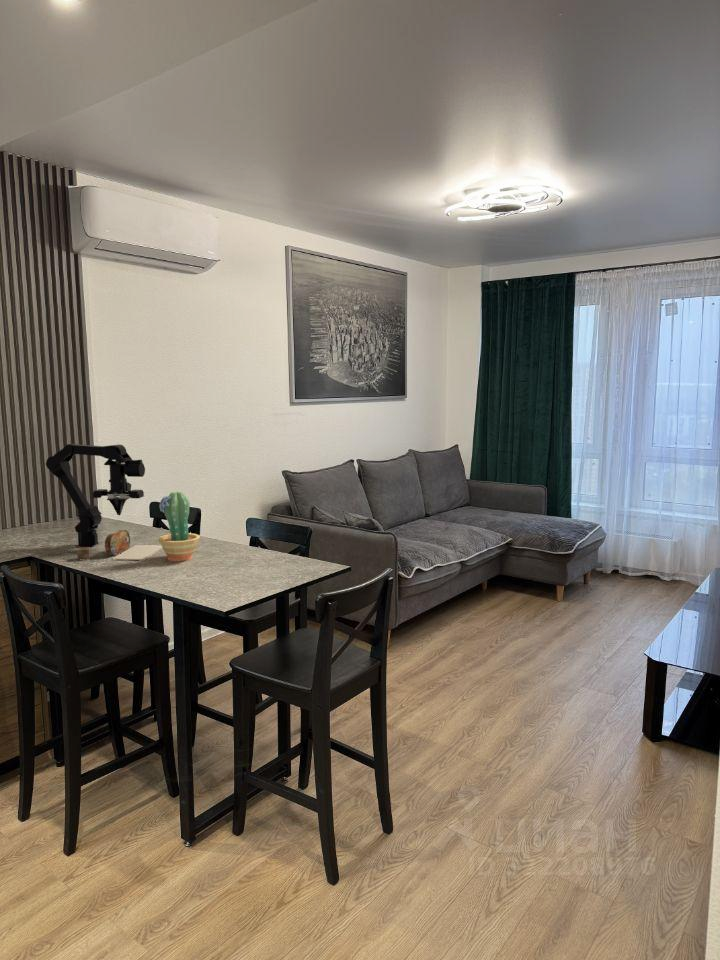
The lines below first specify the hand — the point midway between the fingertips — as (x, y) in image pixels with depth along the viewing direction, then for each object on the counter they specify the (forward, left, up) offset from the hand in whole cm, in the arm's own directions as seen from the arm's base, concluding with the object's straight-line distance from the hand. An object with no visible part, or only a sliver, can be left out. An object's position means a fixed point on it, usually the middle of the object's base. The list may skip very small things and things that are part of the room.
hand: (119, 515), depth 264 cm
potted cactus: (+30, -17, -13) cm, 37 cm away
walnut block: (-5, -21, -13) cm, 25 cm away
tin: (+4, -11, -13) cm, 17 cm away
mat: (+12, -11, -13) cm, 21 cm away
